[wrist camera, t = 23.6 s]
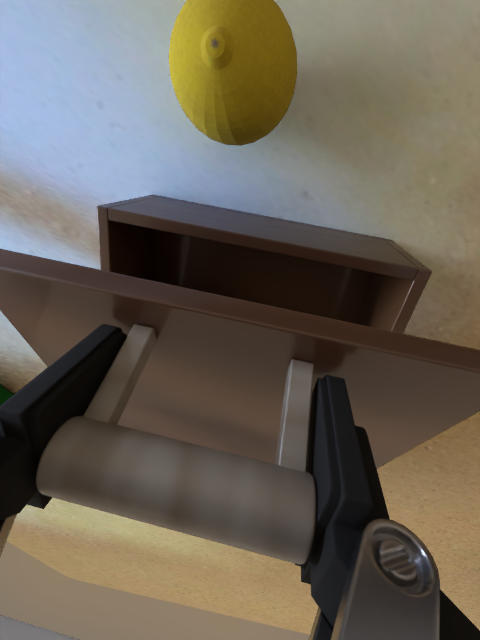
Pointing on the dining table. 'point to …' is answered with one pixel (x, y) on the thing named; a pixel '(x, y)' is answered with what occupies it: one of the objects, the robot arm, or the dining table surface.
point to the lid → (220, 401)
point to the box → (262, 260)
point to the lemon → (233, 67)
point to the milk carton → (4, 395)
